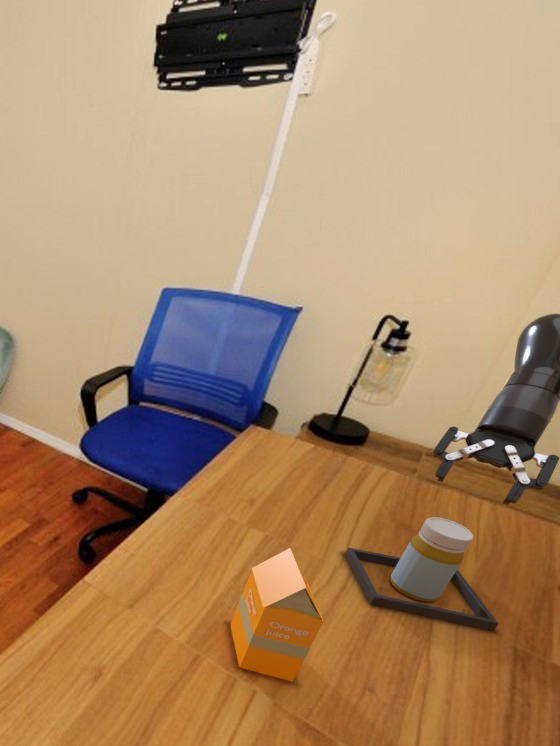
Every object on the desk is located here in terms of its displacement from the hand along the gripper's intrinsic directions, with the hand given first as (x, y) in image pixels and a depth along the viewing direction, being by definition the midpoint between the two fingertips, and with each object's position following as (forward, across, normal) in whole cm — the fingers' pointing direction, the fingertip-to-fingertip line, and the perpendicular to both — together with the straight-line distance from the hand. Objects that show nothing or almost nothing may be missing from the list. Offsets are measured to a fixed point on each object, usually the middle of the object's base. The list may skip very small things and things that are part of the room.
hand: (472, 491), depth 90 cm
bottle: (+19, 0, +10) cm, 21 cm away
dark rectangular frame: (+19, 0, +10) cm, 22 cm away
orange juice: (+46, -12, -16) cm, 50 cm away
